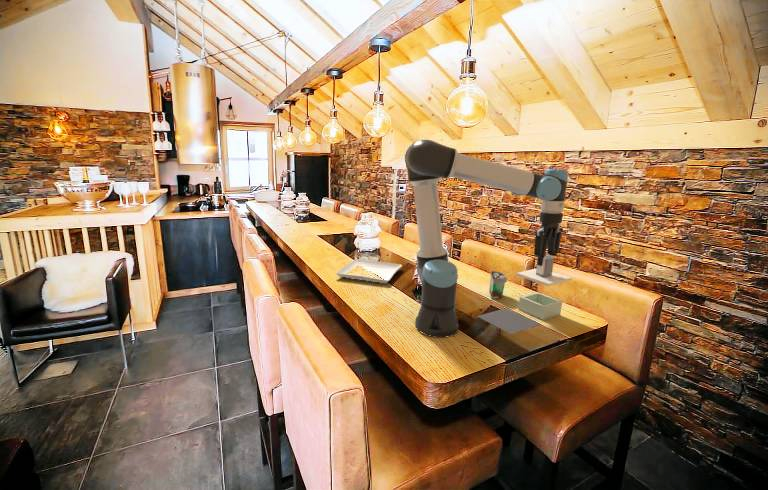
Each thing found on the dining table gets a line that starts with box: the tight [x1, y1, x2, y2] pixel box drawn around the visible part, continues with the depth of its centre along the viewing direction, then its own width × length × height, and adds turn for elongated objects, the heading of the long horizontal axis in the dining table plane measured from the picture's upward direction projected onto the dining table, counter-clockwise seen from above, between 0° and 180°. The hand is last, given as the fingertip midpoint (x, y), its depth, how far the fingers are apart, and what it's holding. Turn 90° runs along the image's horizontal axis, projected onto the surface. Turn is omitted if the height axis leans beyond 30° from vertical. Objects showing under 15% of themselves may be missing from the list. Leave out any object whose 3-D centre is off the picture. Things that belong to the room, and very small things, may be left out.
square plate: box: [335, 258, 403, 284], centre depth 181 cm, size 27×27×4 cm
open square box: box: [518, 291, 563, 321], centre depth 140 cm, size 11×11×6 cm
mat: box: [476, 307, 541, 335], centre depth 132 cm, size 16×16×1 cm
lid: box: [515, 255, 573, 287], centre depth 135 cm, size 14×14×8 cm
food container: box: [489, 270, 508, 300], centre depth 155 cm, size 12×6×10 cm, turn 168°
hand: (543, 272), depth 136 cm, fingers closed on lid, 4 cm apart
